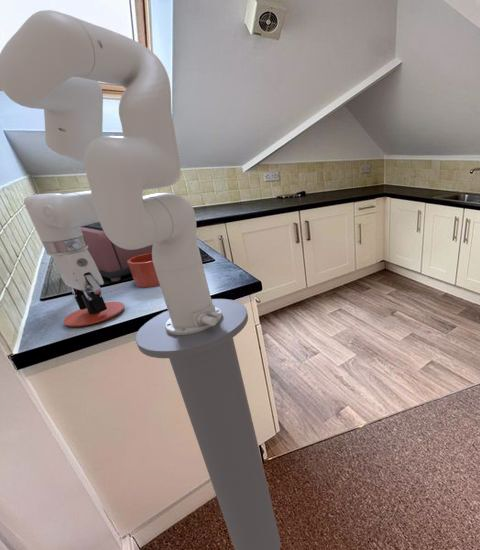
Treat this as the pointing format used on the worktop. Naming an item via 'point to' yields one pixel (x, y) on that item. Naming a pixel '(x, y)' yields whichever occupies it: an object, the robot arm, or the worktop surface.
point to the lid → (88, 318)
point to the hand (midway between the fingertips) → (93, 308)
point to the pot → (143, 270)
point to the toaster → (109, 253)
